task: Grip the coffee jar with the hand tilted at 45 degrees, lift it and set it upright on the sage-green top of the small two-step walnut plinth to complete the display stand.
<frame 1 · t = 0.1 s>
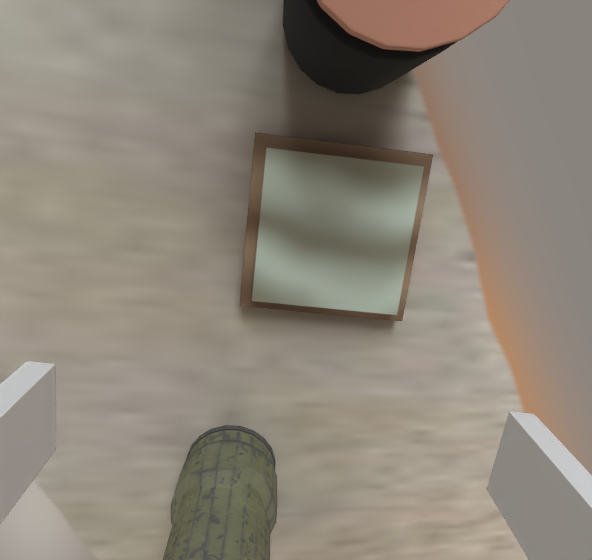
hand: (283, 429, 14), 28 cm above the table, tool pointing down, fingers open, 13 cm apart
plinth: (330, 228, 40), on the table
thermos: (231, 462, 46), on the table
coffee jar: (351, 22, 36), on the table
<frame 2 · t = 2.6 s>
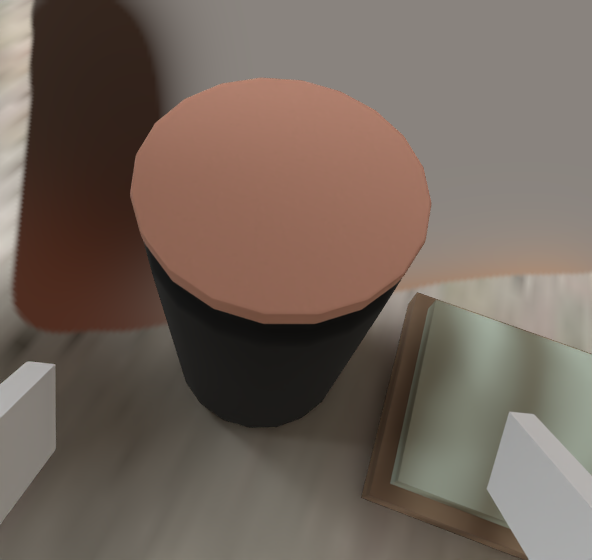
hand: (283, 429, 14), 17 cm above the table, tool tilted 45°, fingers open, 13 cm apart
plinth: (486, 427, 32), on the table
coffee jar: (260, 352, 33), on the table
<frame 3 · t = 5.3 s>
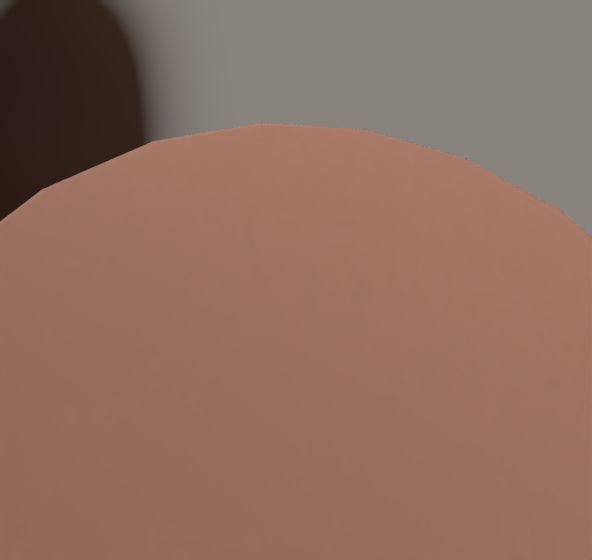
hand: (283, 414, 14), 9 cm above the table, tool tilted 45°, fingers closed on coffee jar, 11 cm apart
coffee jar: (259, 526, 21), on the table, touching gripper
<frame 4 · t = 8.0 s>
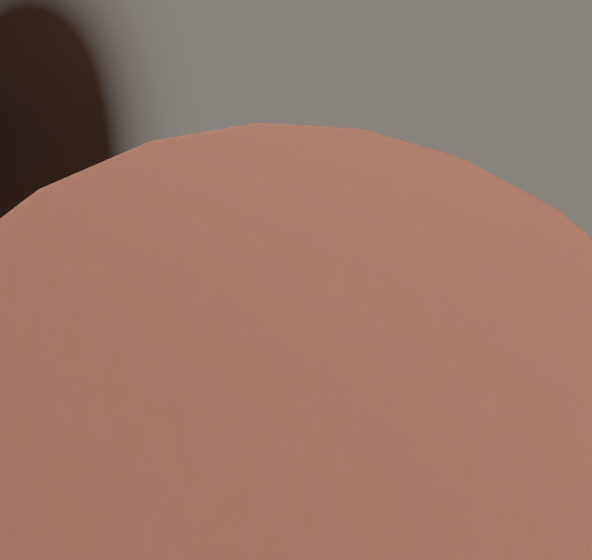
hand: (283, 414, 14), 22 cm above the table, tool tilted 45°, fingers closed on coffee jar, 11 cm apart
coffee jar: (258, 526, 21), point 14 cm above the table, touching gripper
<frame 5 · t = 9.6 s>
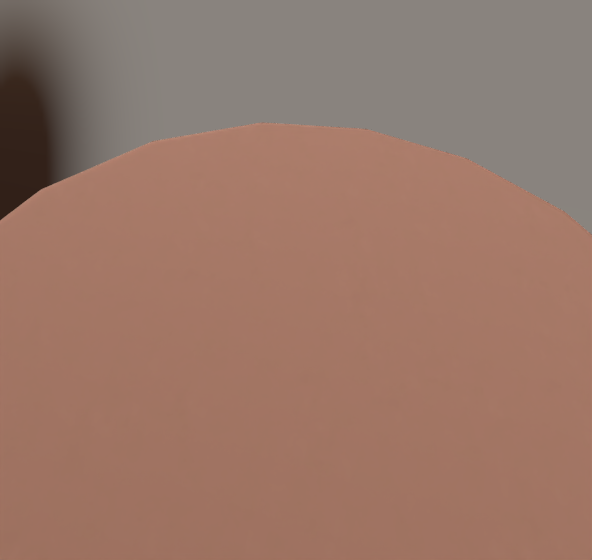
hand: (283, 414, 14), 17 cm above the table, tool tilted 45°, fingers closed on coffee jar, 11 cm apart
coffee jar: (259, 527, 21), point 8 cm above the table, touching gripper
when the fingers open (13 cm above the table, at t = 11.0 s): coffee jar stays where it is, resting on plinth.
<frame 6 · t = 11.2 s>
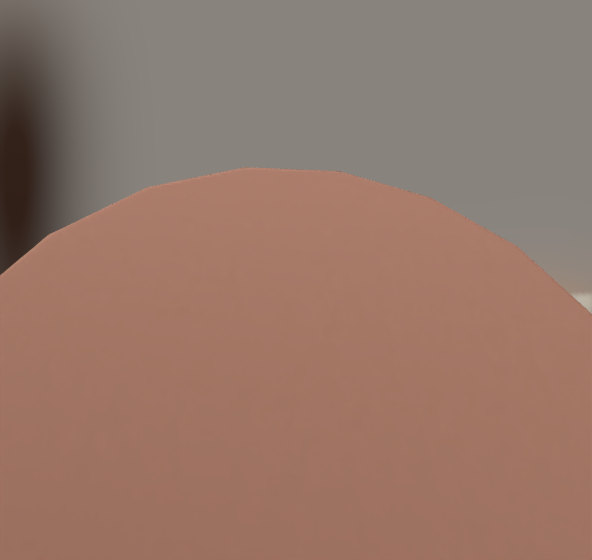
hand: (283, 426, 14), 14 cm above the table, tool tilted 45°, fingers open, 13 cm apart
coffee jar: (254, 528, 22), point 3 cm above the table, touching plinth
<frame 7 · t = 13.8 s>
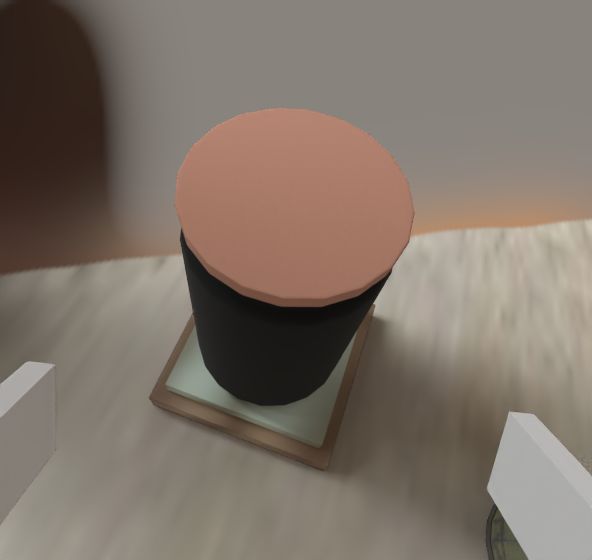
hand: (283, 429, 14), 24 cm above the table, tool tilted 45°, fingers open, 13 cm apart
plinth: (269, 356, 40), on the table
thermos: (540, 548, 35), on the table
coffee jar: (269, 342, 37), point 3 cm above the table, touching plinth
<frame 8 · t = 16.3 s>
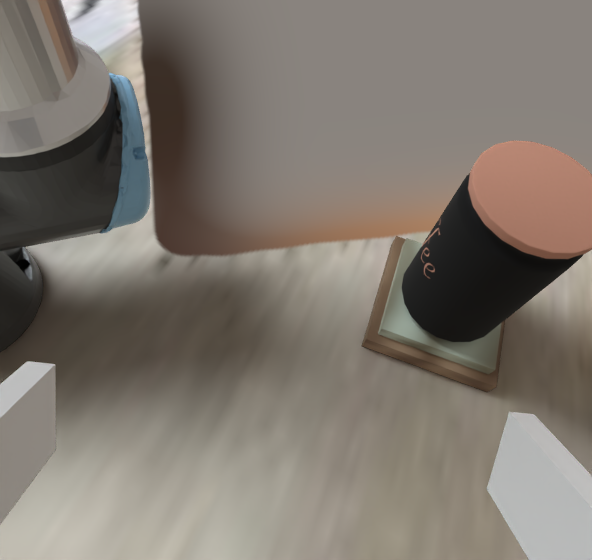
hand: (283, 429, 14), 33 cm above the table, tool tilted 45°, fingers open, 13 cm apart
plinth: (435, 313, 54), on the table
coffee jar: (445, 300, 51), point 3 cm above the table, touching plinth
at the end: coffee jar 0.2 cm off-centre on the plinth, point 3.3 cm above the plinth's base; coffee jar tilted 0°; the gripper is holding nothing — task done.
